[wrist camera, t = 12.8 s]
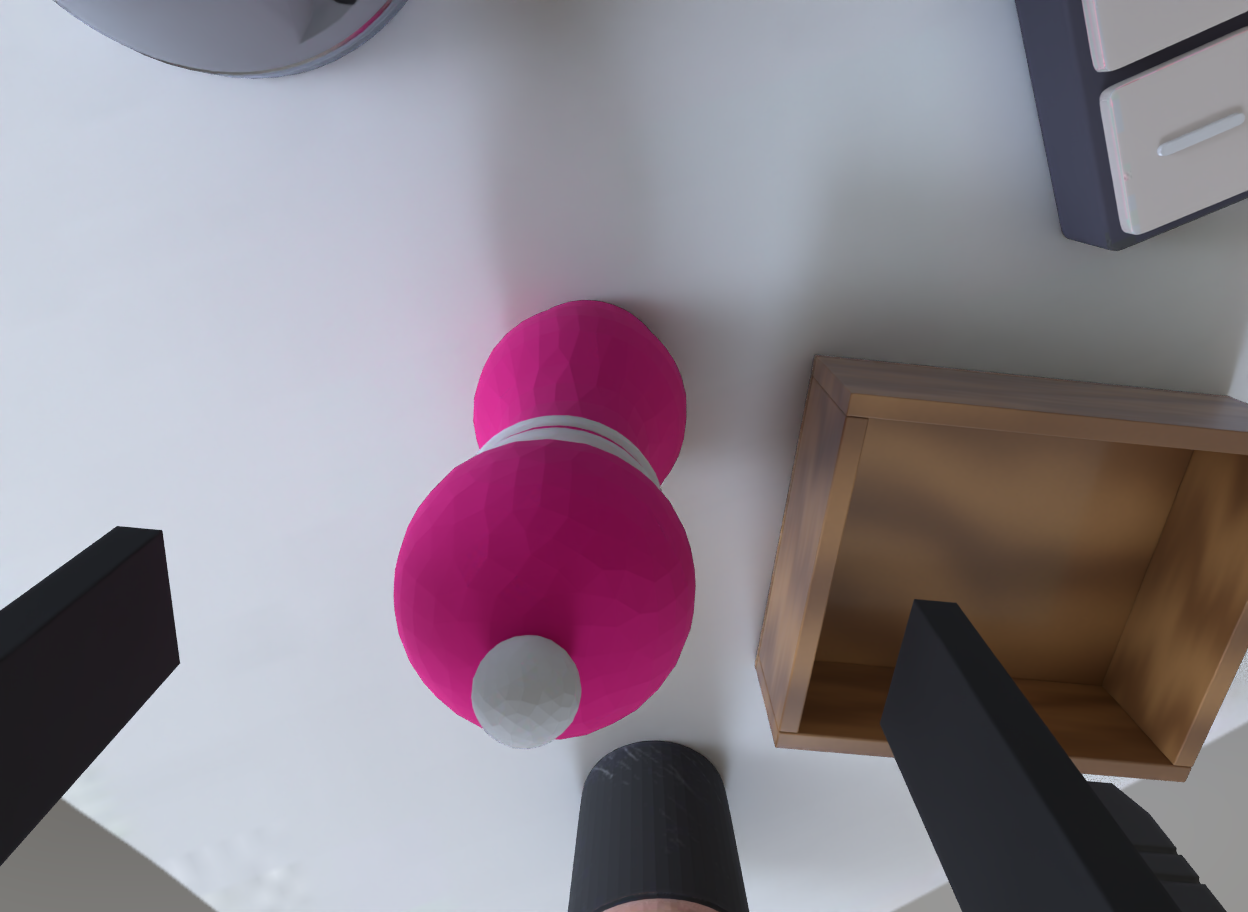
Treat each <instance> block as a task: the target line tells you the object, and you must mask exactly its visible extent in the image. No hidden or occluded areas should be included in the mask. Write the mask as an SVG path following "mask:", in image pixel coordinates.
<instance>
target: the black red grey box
mask: <svg viewBox="0 0 1248 912" xmlns="http://www.w3.org/2000/svg"><path fill="white" fill-rule="evenodd" d="M1015 3H1016V8H1017V13H1018V18H1019V23H1020V28H1021V32H1022V37H1023V42H1024V47H1025V52H1026V57H1027V62H1028V67H1029V72H1030V77H1031V82H1032V87H1033V91H1034V96H1035V101H1036V106H1037V111H1038V116H1039V121H1040V126H1041V131H1042V136H1043V141H1044V146H1045V151H1046V155H1047V160H1048V165H1049V170H1050V175H1051V180H1052V185H1053V190H1054V195H1055V200H1056V205H1057V210H1058V215H1059V219H1060V224H1061V229H1062V232H1063V234H1064V236H1065V237H1067V238H1068V239H1071V240H1075V241H1079V242H1082V243H1086V244H1090V245H1093V246H1097V247H1101V248H1105V249H1109V250H1113V251H1118V250H1122V249H1125V248H1127V247H1130V246H1132V245H1135V244H1137V243H1140V242H1142V241H1144V240H1147V239H1149V238H1152V237H1154V236H1157V235H1159V234H1161V233H1164V232H1166V231H1169V230H1171V229H1174V228H1176V227H1178V226H1181V225H1183V224H1186V223H1188V222H1191V221H1193V220H1195V219H1198V218H1200V217H1203V216H1205V215H1208V214H1210V213H1212V212H1215V211H1217V210H1220V209H1222V208H1225V207H1227V206H1229V205H1232V204H1234V203H1237V202H1239V201H1242V200H1244V199H1246V198H1248V0H1015Z"/></svg>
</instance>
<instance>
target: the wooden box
mask: <svg viewBox="0 0 1248 912" xmlns="http://www.w3.org/2000/svg"><path fill="white" fill-rule="evenodd" d="M914 599H920V600H931V601H942V602H953V603H957V604H958V605H959V607H960V608H961V610H962V611H963V612H964V614H965V615H966V616H967V618H968V619H969V621H970V622H971V623H972V625H973V626H974V627H975V629H976V630H977V632H978V633H979V634H980V636H981V637H982V638H983V640H984V641H985V642H986V644H987V645H988V647H989V648H990V649H991V651H992V652H993V653H994V655H995V656H996V658H997V659H998V660H999V662H1000V663H1001V664H1002V666H1003V667H1004V669H1005V670H1006V671H1007V673H1008V674H1009V675H1010V677H1011V678H1012V679H1013V681H1014V682H1015V684H1016V685H1017V686H1018V688H1019V689H1020V690H1021V692H1022V693H1023V695H1024V696H1025V697H1026V699H1027V700H1028V701H1029V703H1030V704H1031V706H1032V707H1033V708H1034V710H1035V711H1036V712H1037V714H1038V715H1039V716H1040V718H1041V719H1042V721H1043V722H1044V723H1045V725H1046V726H1047V727H1048V729H1049V730H1050V732H1051V733H1052V734H1053V736H1054V737H1055V738H1056V740H1057V741H1058V743H1059V744H1060V745H1061V747H1062V748H1063V749H1064V751H1065V752H1066V753H1067V755H1068V756H1069V758H1070V759H1071V760H1072V762H1073V763H1074V764H1075V766H1076V767H1077V769H1078V770H1079V771H1080V773H1081V774H1093V775H1105V776H1117V777H1128V778H1140V779H1152V780H1164V781H1176V782H1185V781H1186V779H1187V777H1188V775H1189V772H1190V771H1191V767H1192V766H1193V765H1194V763H1195V760H1196V758H1197V756H1198V754H1199V752H1200V750H1201V748H1202V745H1203V743H1204V741H1205V739H1206V737H1207V735H1208V733H1209V730H1210V728H1211V726H1212V724H1213V722H1214V720H1215V717H1216V715H1217V713H1218V711H1219V709H1220V707H1221V705H1222V702H1223V700H1224V698H1225V696H1226V694H1227V692H1228V690H1229V687H1230V685H1231V683H1232V681H1233V679H1234V677H1235V674H1236V672H1237V670H1238V668H1239V666H1240V664H1241V662H1242V659H1243V657H1244V655H1245V653H1246V651H1247V649H1248V404H1247V403H1245V402H1242V401H1239V400H1237V399H1234V398H1232V397H1230V396H1223V395H1213V394H1203V393H1193V392H1183V391H1173V390H1163V389H1153V388H1143V387H1133V386H1123V385H1113V384H1103V383H1093V382H1083V381H1073V380H1063V379H1054V378H1044V377H1034V376H1024V375H1014V374H1004V373H994V372H984V371H974V370H964V369H954V368H944V367H934V366H924V365H914V364H904V363H894V362H884V361H874V360H864V359H854V358H844V357H834V356H824V355H815V356H814V361H813V366H812V371H811V377H810V382H809V387H808V392H807V397H806V403H805V408H804V413H803V418H802V423H801V428H800V434H799V439H798V444H797V449H796V454H795V459H794V465H793V470H792V475H791V480H790V485H789V491H788V496H787V501H786V506H785V511H784V516H783V522H782V527H781V532H780V537H779V542H778V548H777V553H776V558H775V563H774V568H773V573H772V579H771V584H770V589H769V594H768V599H767V604H766V610H765V615H764V620H763V625H762V630H761V636H760V641H759V646H758V651H757V656H756V661H755V669H756V671H757V675H758V679H759V683H760V687H761V691H762V695H763V699H764V703H765V707H766V711H767V715H768V719H769V723H770V728H771V732H772V736H773V740H774V744H775V747H777V748H787V749H799V750H811V751H822V752H834V753H846V754H858V755H869V756H881V757H893V758H895V757H894V755H893V753H892V751H891V748H890V746H889V744H888V741H887V739H886V737H885V735H884V732H883V730H882V728H881V726H880V721H881V717H882V713H883V710H884V706H885V702H886V699H887V695H888V692H889V688H890V684H891V681H892V677H893V673H894V670H895V666H896V663H897V659H898V655H899V652H900V648H901V644H902V641H903V637H904V633H905V630H906V626H907V623H908V619H909V615H910V612H911V608H912V604H913V601H914Z"/></svg>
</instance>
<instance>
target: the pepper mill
mask: <svg viewBox="0 0 1248 912" xmlns="http://www.w3.org/2000/svg"><path fill="white" fill-rule="evenodd" d="M473 422H474V427H475V433H476V439H477V442H478V445H479V448H480V450H479V451H478V453H477V454H476V455H475V456H474V457H473V458H471V459H469V460H468V461H466V462H464V463H462V464H461V465H459V466H457V467H455V468H454V469H453V470H452V471H451V472H450V473H449V474H448V475H447V476H446V477H445V478H444V479H443V480H442V481H441V482H440V483H439V484H438V485H437V486H436V487H435V488H434V489H433V490H432V491H431V492H430V494H429V495H428V496H427V497H426V499H425V500H424V501H423V502H422V504H421V505H420V506H419V508H418V509H417V511H416V513H415V515H414V517H413V518H412V520H411V522H410V524H409V526H408V528H407V531H406V534H405V537H404V540H403V543H402V546H401V549H400V552H399V556H398V560H397V564H396V568H395V579H394V608H395V615H396V621H397V626H398V632H399V636H400V638H401V641H402V643H403V646H404V648H405V651H406V653H407V656H408V658H409V661H410V663H411V664H412V666H413V667H414V669H415V670H416V672H417V673H418V675H419V676H420V678H421V680H422V681H423V682H424V684H425V685H426V686H427V687H428V688H429V689H430V690H431V691H432V692H433V693H434V695H435V696H436V697H437V698H438V699H439V700H441V701H442V702H443V703H444V704H445V705H447V706H448V707H449V708H450V709H451V710H452V711H454V712H455V713H456V714H457V715H459V716H461V717H463V718H465V719H466V720H468V721H470V722H472V723H474V724H476V725H478V726H479V727H481V728H483V729H484V731H485V732H486V733H487V734H488V735H489V736H491V737H492V738H493V739H495V740H496V741H497V742H499V743H501V744H504V745H507V746H510V747H512V748H519V749H530V748H536V747H540V746H543V745H545V744H548V743H550V742H552V741H553V740H554V739H566V738H571V737H577V736H582V735H587V734H589V733H592V732H594V731H596V730H599V729H601V728H604V727H606V726H608V725H611V724H613V723H615V722H617V721H618V720H620V719H622V718H623V717H625V716H627V715H628V714H630V713H632V712H634V711H635V710H637V709H638V708H639V707H640V706H641V705H642V704H643V703H644V702H645V701H646V700H647V699H648V698H650V697H651V696H652V695H653V694H654V693H655V692H656V691H657V690H658V689H659V687H660V686H661V685H662V683H663V682H664V681H665V679H666V678H667V676H668V675H669V674H670V672H671V671H672V669H673V668H674V667H675V665H676V663H677V661H678V658H679V656H680V654H681V651H682V649H683V646H684V644H685V641H686V639H687V637H688V634H689V632H690V628H691V623H692V618H693V613H694V600H695V586H696V585H695V569H694V563H693V558H692V553H691V548H690V544H689V541H688V538H687V535H686V532H685V529H684V527H683V525H682V524H681V522H680V520H679V518H678V516H677V514H676V512H675V511H674V509H673V507H672V505H671V503H670V501H669V500H668V499H667V498H666V497H665V496H664V494H663V493H662V492H661V488H660V485H661V484H662V482H663V481H664V479H665V478H666V477H667V475H668V474H669V472H670V471H671V470H672V468H673V466H674V464H675V462H676V460H677V458H678V456H679V453H680V450H681V447H682V443H683V440H684V432H685V425H686V393H685V389H684V385H683V381H682V377H681V374H680V372H679V370H678V368H677V366H676V363H675V361H674V360H673V358H672V357H671V355H670V353H669V352H668V350H667V349H666V347H665V346H664V345H663V344H662V343H661V342H660V341H659V339H658V338H657V337H656V336H655V335H654V334H652V333H651V331H650V330H649V329H648V328H647V327H646V326H645V325H644V324H643V323H642V322H641V321H640V320H639V319H637V318H636V317H635V316H634V315H632V314H631V313H629V312H628V311H626V310H624V309H622V308H620V307H618V306H615V305H612V304H609V303H605V302H601V301H594V300H580V301H571V302H567V303H564V304H561V305H558V306H555V307H553V308H551V309H549V310H547V311H544V312H541V313H539V314H536V315H534V316H532V317H530V318H528V319H526V320H525V321H523V322H521V323H520V324H519V325H517V326H516V327H515V328H514V329H512V330H511V331H510V332H508V333H507V334H506V335H505V336H504V337H503V339H502V340H501V341H500V342H499V343H498V344H497V346H496V347H495V348H494V349H493V351H492V352H491V354H490V356H489V358H488V360H487V362H486V364H485V366H484V368H483V370H482V373H481V376H480V379H479V383H478V386H477V390H476V393H475V397H474V418H473Z"/></svg>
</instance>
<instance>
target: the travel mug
mask: <svg viewBox="0 0 1248 912" xmlns="http://www.w3.org/2000/svg"><path fill="white" fill-rule="evenodd" d="M568 912H749V908H748V903H747V898H746V893H745V887H744V882H743V877H742V872H741V867H740V861H739V856H738V851H737V846H736V841H735V835H734V830H733V825H732V820H731V815H730V810H729V805H728V800H727V796H726V792H725V788H724V784H723V782H722V779H721V777H720V775H719V773H718V772H717V770H716V769H715V767H714V766H713V765H712V764H711V763H710V762H709V761H708V760H707V759H706V758H705V757H703V756H702V755H700V754H699V753H697V752H696V751H694V750H692V749H690V748H688V747H685V746H682V745H679V744H675V743H670V742H663V741H646V742H639V743H633V744H630V745H627V746H623V747H621V748H619V749H617V750H615V751H613V752H611V753H609V754H608V755H606V756H605V757H604V758H603V759H601V760H600V761H599V762H598V763H597V764H596V765H595V766H594V768H593V769H592V770H591V772H590V774H589V776H588V777H587V779H586V782H585V785H584V788H583V793H582V799H581V806H580V813H579V821H578V829H577V838H576V846H575V855H574V863H573V872H572V881H571V889H570V898H569V906H568Z"/></svg>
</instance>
